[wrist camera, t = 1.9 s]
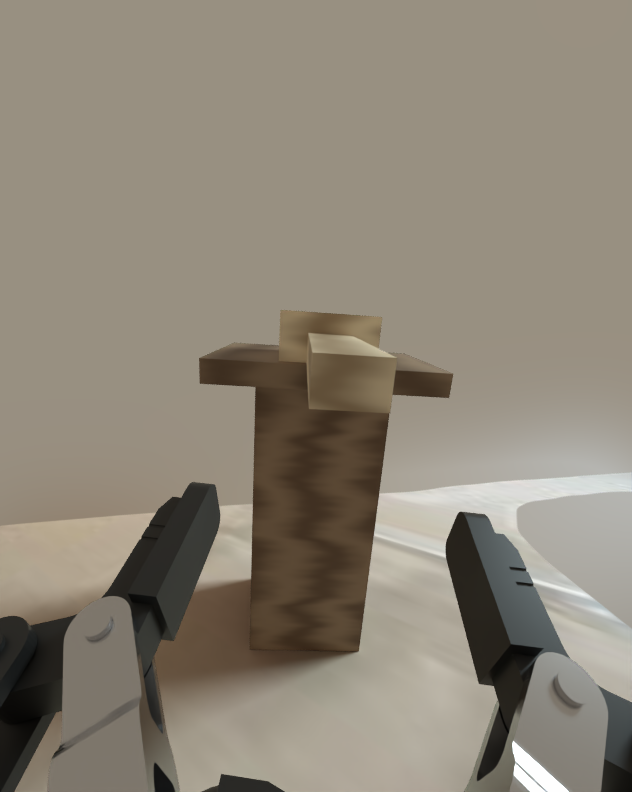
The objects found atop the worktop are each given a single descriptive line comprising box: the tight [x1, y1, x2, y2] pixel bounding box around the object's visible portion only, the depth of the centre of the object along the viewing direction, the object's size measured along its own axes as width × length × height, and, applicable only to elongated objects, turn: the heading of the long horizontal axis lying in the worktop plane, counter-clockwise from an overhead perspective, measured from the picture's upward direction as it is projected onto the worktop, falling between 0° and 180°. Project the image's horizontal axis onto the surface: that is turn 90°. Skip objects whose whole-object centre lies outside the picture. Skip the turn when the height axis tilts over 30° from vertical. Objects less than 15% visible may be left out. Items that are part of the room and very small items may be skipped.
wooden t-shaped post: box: [199, 343, 453, 651], centre depth 36 cm, size 20×13×32 cm, turn 92°
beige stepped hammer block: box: [279, 310, 397, 413], centre depth 24 cm, size 8×21×4 cm, turn 2°
